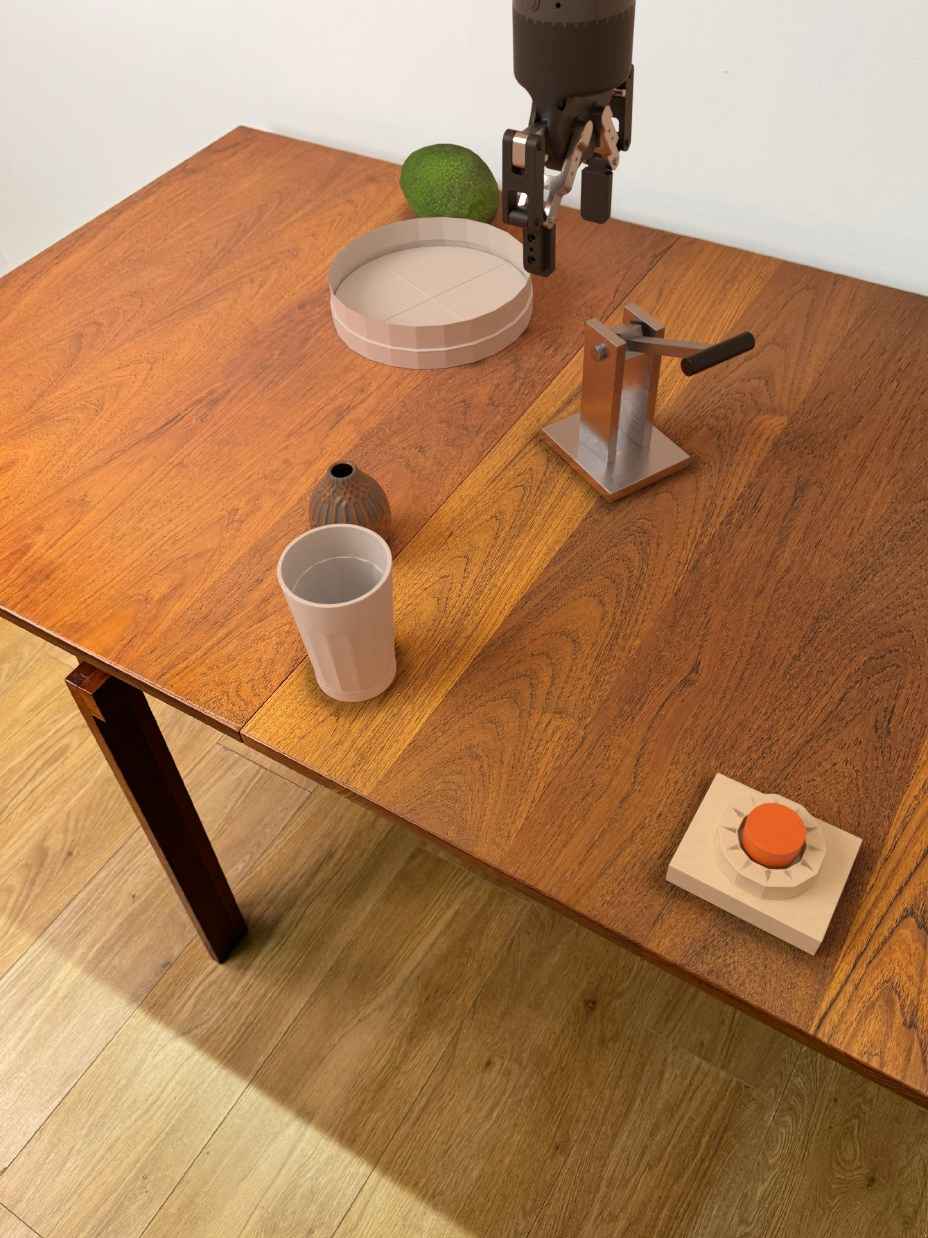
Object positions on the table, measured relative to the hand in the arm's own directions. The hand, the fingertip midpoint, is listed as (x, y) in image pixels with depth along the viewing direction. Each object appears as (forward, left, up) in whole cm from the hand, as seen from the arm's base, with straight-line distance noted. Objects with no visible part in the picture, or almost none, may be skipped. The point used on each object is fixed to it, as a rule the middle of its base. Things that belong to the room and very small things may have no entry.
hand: (568, 245), depth 73 cm
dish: (+26, -19, -24) cm, 40 cm away
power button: (-29, +26, -20) cm, 44 cm away
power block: (-29, +26, -24) cm, 46 cm away
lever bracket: (-2, -7, -24) cm, 25 cm away
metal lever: (-7, -4, -10) cm, 13 cm away
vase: (+12, +15, -24) cm, 31 cm away
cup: (+4, +26, -24) cm, 36 cm away
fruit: (+34, -35, -24) cm, 54 cm away
